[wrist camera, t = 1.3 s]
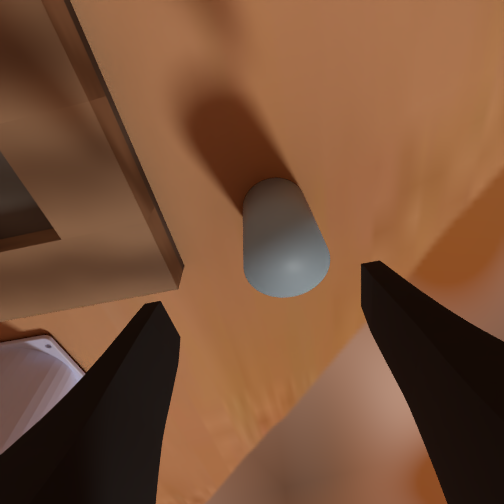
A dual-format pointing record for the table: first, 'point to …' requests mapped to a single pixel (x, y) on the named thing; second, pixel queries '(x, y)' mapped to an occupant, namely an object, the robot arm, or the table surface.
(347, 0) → the table surface
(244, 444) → the table surface
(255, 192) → the slate pin
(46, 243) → the walnut socket block
